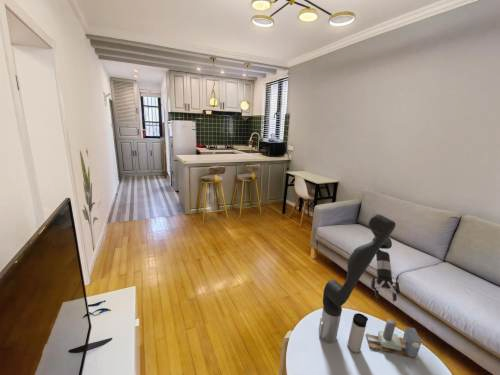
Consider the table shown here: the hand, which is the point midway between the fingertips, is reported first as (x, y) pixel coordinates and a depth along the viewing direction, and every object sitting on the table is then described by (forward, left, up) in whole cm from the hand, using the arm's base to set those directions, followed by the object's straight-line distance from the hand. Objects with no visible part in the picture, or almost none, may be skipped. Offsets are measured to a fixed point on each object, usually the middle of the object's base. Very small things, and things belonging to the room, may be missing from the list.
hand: (385, 299), depth 131 cm
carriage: (+1, -12, -17) cm, 21 cm away
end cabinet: (+11, -12, -18) cm, 25 cm away
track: (+2, -12, -20) cm, 23 cm away
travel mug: (-17, -18, -20) cm, 32 cm away
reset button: (+7, -12, -16) cm, 21 cm away
